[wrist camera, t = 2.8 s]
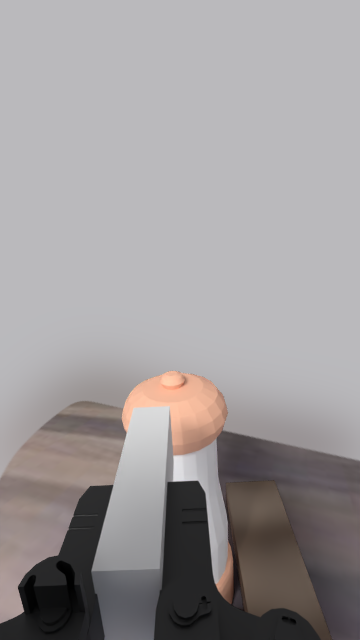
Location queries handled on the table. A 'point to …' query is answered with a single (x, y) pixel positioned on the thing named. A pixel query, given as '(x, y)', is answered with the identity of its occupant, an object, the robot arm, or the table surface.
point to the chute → (269, 555)
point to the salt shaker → (194, 451)
